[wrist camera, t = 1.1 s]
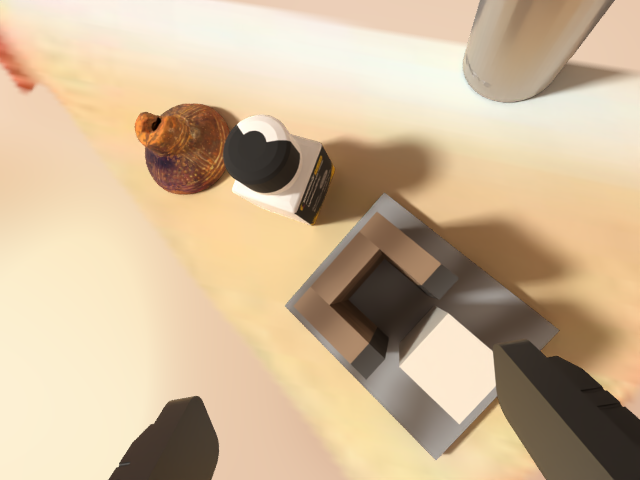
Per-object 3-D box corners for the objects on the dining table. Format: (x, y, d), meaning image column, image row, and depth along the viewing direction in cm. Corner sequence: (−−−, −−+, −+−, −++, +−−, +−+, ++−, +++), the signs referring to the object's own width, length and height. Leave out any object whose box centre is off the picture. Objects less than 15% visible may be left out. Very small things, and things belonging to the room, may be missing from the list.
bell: (139, 171, 43) (89, 149, 36) (186, 95, 43) (144, 58, 36) (201, 213, 40) (159, 198, 33) (251, 131, 40) (220, 98, 33)
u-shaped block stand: (553, 328, 29) (634, 351, 19) (434, 453, 30) (452, 538, 20) (384, 195, 35) (378, 158, 24) (288, 305, 35) (244, 313, 25)
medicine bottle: (314, 227, 36) (274, 199, 24) (260, 208, 38) (199, 174, 26) (336, 168, 36) (307, 114, 25) (281, 152, 38) (231, 95, 27)
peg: (478, 343, 29) (512, 368, 21) (441, 383, 29) (459, 424, 21) (434, 305, 31) (448, 313, 22) (399, 343, 31) (399, 366, 22)
